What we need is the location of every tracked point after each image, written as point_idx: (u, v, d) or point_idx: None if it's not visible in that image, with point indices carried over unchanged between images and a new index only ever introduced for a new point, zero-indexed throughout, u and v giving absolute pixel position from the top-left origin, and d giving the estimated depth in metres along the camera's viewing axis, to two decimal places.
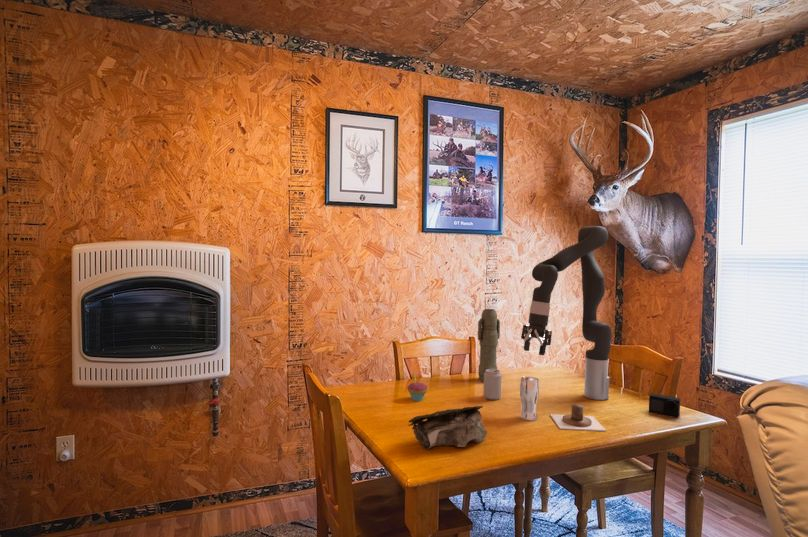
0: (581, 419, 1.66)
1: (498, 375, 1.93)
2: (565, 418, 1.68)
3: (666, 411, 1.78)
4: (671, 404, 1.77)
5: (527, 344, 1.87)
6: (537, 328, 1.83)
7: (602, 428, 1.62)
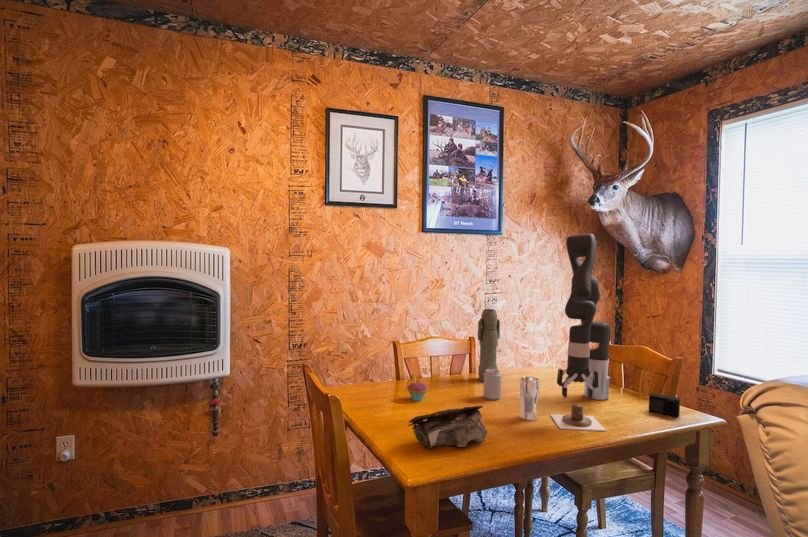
0: (581, 419, 1.66)
1: (498, 375, 1.93)
2: (565, 418, 1.68)
3: (666, 411, 1.78)
4: (671, 404, 1.77)
5: None
6: (582, 371, 1.66)
7: (602, 428, 1.62)
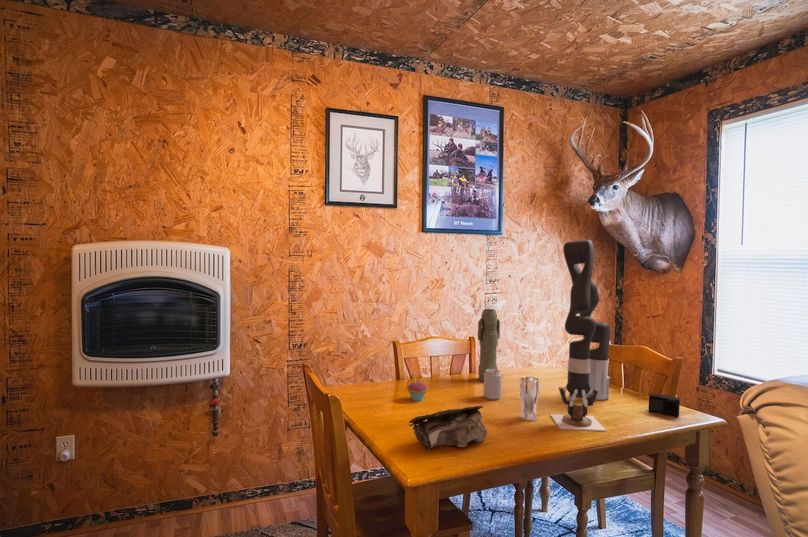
0: (581, 419, 1.66)
1: (498, 375, 1.93)
2: (565, 418, 1.68)
3: (666, 411, 1.78)
4: (671, 404, 1.77)
5: None
6: (582, 387, 1.66)
7: (602, 428, 1.62)
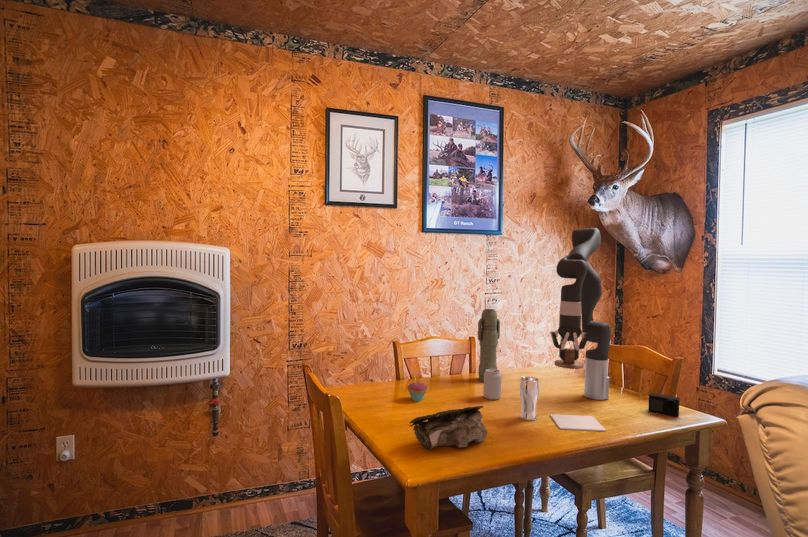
0: (573, 362, 1.66)
1: (498, 375, 1.93)
2: (557, 362, 1.68)
3: (666, 411, 1.79)
4: (671, 404, 1.78)
5: None
6: (574, 330, 1.66)
7: (602, 428, 1.62)
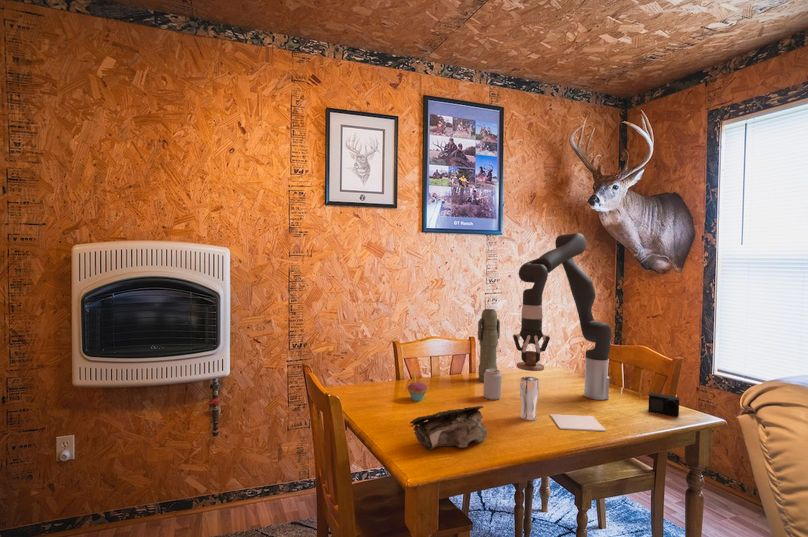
0: (534, 364, 1.70)
1: (498, 375, 1.93)
2: (519, 364, 1.72)
3: (666, 410, 1.79)
4: (671, 403, 1.78)
5: None
6: (535, 333, 1.70)
7: (602, 428, 1.62)
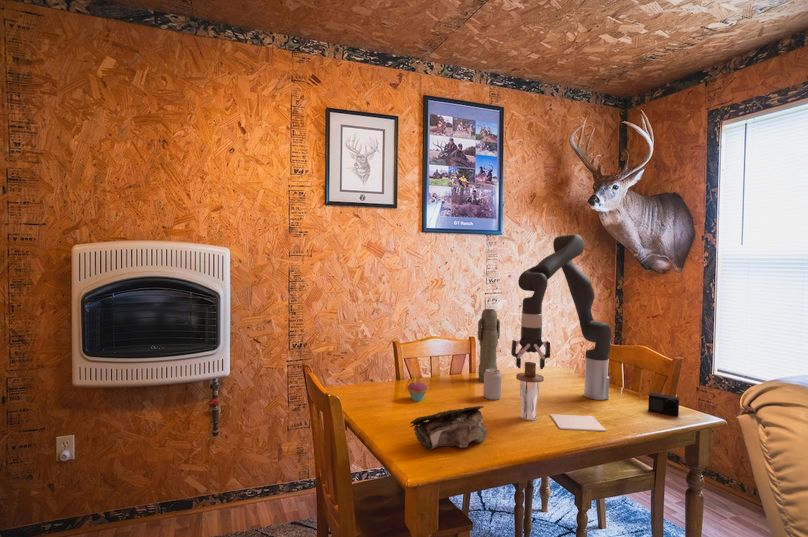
0: (533, 376, 1.70)
1: (498, 375, 1.93)
2: (518, 375, 1.72)
3: (666, 410, 1.79)
4: (671, 403, 1.78)
5: None
6: (535, 342, 1.70)
7: (602, 428, 1.62)
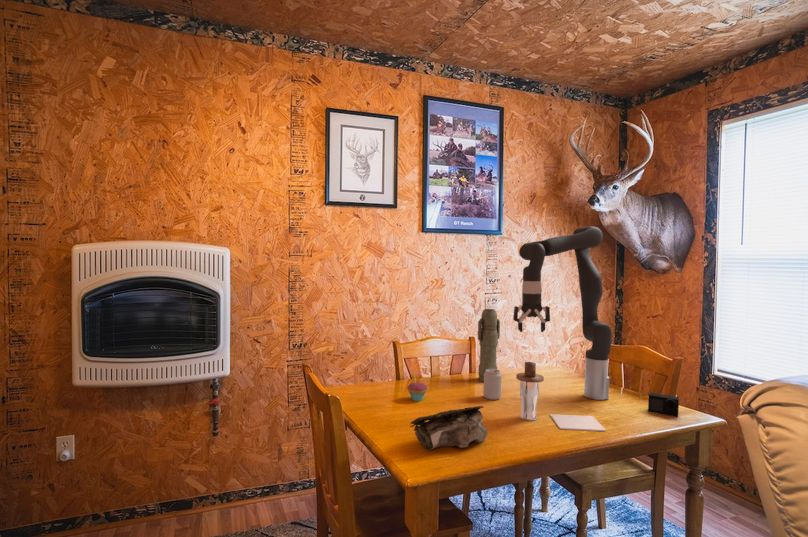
0: (533, 376, 1.70)
1: (498, 375, 1.93)
2: (518, 375, 1.72)
3: (665, 410, 1.79)
4: (670, 403, 1.78)
5: None
6: (535, 307, 1.83)
7: (602, 428, 1.62)
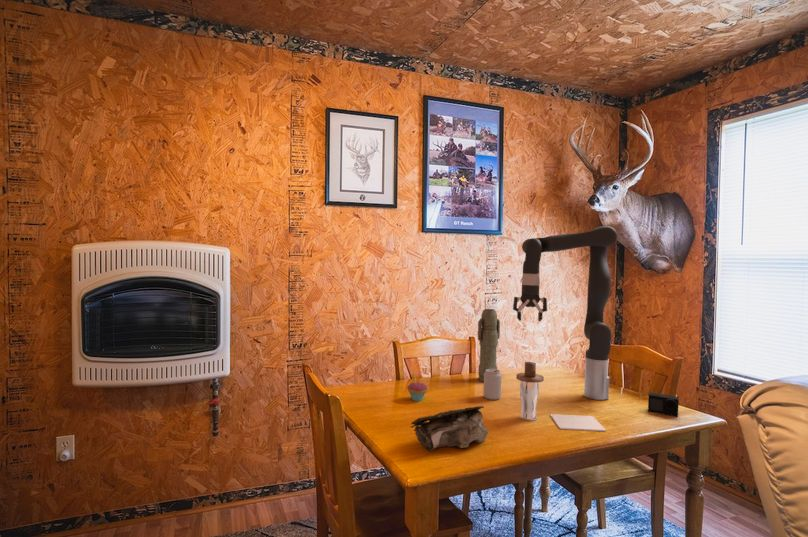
0: (533, 376, 1.70)
1: (498, 375, 1.93)
2: (518, 375, 1.72)
3: (665, 410, 1.79)
4: (670, 403, 1.78)
5: (520, 314, 2.00)
6: (533, 298, 1.98)
7: (602, 428, 1.62)
